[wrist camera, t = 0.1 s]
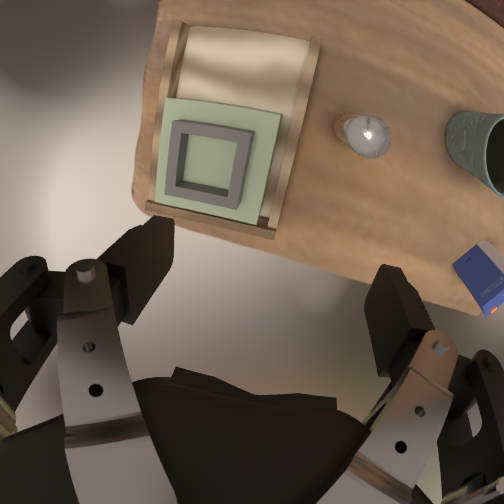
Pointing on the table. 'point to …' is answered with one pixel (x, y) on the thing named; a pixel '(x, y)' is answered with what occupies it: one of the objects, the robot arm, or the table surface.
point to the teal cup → (478, 146)
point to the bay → (239, 100)
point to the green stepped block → (216, 157)
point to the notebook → (491, 9)
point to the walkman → (483, 275)
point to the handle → (363, 134)
